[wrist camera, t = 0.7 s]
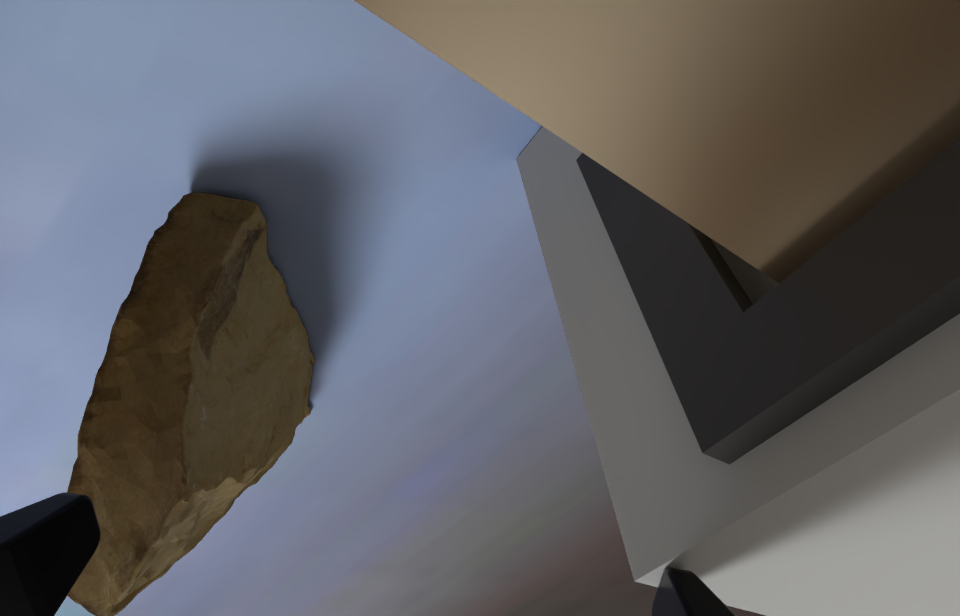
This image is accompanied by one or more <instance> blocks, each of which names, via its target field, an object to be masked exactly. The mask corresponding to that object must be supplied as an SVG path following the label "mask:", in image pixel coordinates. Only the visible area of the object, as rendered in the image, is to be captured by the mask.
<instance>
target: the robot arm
mask: <svg viewBox="0 0 960 616" xmlns="http://www.w3.org/2000/svg"><path fill="white" fill-rule="evenodd" d="M100 535H101V532H100V527H99V524H98V520H97V517H96V513H95V510H94V506H93V502H92V500H91V499H90V498H89V497H88V496H86V495H82V494H73V493H60V494H57V495H54V496H52V497H49V498H47V499H44V500H42V501H39V502H36V503H34V504H31V505H29V506H26V507H24V508H21V509H19V510H16V511H14V512H11V513H8V514H6V515H3V516H1V517H0V616H54V615H55V613H56V612H57V610H58V609H59V607H60V606H61V604H62V603H63V601H64V599H65V598H66V596H67V595H68V593H69V592H70V590H71V589H72V587H73V585H74V584H75V582H76V581H77V579H78V578H79V576H80V575H81V573H82V572H83V570H84V568H85V567H86V565H87V564H88V562H89V561H90V559H91V558H92V556H93V554H94V553H95V551H96V549H97V547H98V545H99V542H100ZM652 616H736V615H735V614H734V613H733V612H732V611H731V610H730V609H729V608H728V607H727V606H726V605H725V604H724V603H723V602H722V601H721V600H720V599H719V598H718V597H717V596H716V595H715V594H714V593H713V592H712V591H711V590H710V589H709V587H708V586H707V585H706V584H705V583H704V582H703V581H702V580H701V579H700V578H699V577H698V576H697V575H696V574H694V573H693V572H692V571H689V570H682V569H675V568H667V569H665V570H664V572H663V574H662V577H661V580H660V583H659V586H658V589H657V592H656V595H655V598H654V602H653V607H652Z"/></svg>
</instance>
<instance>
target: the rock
mask: <svg viewBox="0 0 960 616" xmlns="http://www.w3.org/2000/svg"><path fill="white" fill-rule="evenodd" d="M266 234H267V223H266V219H265V218H264V216H263V214H262V212H261V210H260V208H259V205H258V204H257V203H255V202H251V201H248V200H239V199H234V198H227V197H223V196H219V195H214V194H210V193H195V192H192V193H189V194H187V195H184V196H183V197H182V199H181V200H180V202H179V203H177V204H176V205H175V206H174V207H173V208H172V209H171V210H170V211H169V213H168V218H167V220H166V222H165V223H164V224H163V225H162V226H161V227H160V228H158V229H157V230H156V231H155V232H154V235H153V237H152V238H151V239H150V241H149V243H148V245H147V248H146V251H145V254H144V257H143V259H142V262H141V265H140V268H139V270H138V272H137V274H136V276H135V278H134V282H133V285H132V288H131V291H130V293H129V295H128V296H127V298H126V299H125V301H124V302H123V303H122V304H121V307H120V309H119V312H118V314H117V317H116V320H115V322H114V324H113V327H112V330H111V334H110V339H109V343H108V346H107V352H106V355H105V357H104V360H103V363H102V365H101V367H100V368H99V369H98V372H97V375H96V378H95V383H94V387H93V391H92V395H91V397H90V399H89V401H88V403H87V406H86V409H85V413H84V416H83V420H82V423H81V426H80V430H79V433H78V457H77V459H76V461H75V464H74V466H73V471H72V476H71V480H70V483H69V487H68V492H67V493H73V494H82V495H86V496H88V497H89V498H90V499H91V500H92V502H93V506H94V510H95V513H96V517H97V520H98V524H99V527H100V532H101V535H100V542H99V545H98V547H97V549H96V551H95V553H94V554H93V556H92V558H91V559H90V561H89V562H88V564H87V565H86V567H85V568H84V570H83V572H82V573H81V575H80V576H79V578H78V579H77V581H76V582H75V584H74V585H73V587H72V589H71V590H70V592H69V593H68V595H67V596H68V597H70V598H71V599H72V600H73V601H74V602H76V603H78V604H80V605H82V606H83V607H84V608H85V609H86V610H87V611H88V612H90V613H91V614H93V615H95V616H114V615H116V614H118V613H119V612H120V611H121V610H123V609H124V608H125V607H126V606H127V605H128V604H129V603H130V602H131V601H132V600H133V599H134V597H135V596H136V595H137V594H138V593H140V592H141V591H142V590H143V589H145V588H146V587H147V586H148V585H150V584H151V583H152V582H153V581H155V580H157V579H159V578H160V577H162V576H163V575H164V574H165V573H166V572H167V571H168V570H169V569H170V568H171V566H172V565H173V564H174V563H175V562H176V561H178V560H179V559H180V558H182V557H183V556H184V555H186V554H187V553H188V552H190V551H191V550H192V549H193V548H194V547H195V546H196V545H197V544H198V543H199V542H200V541H201V540H202V539H203V537H204V536H205V535H206V534H207V533H208V532H209V531H210V529H211V528H212V527H213V525H214V524H215V523H217V522H218V521H219V520H220V519H221V518H222V517H223V516H224V515H225V514H226V513H227V512H228V511H229V509H230V508H231V506H232V505H233V503H234V501H235V499H236V498H238V497H239V496H240V495H241V494H242V492H243V491H244V490H245V489H247V488H248V487H249V486H251V485H253V484H256V483H257V482H258V481H259V480H260V478H261V477H262V476H263V475H264V474H265V473H266V472H267V471H268V470H269V469H270V468H272V467H273V465H274V464H275V463H276V461H277V460H278V458H279V457H280V456H281V455H282V454H283V453H284V451H285V450H286V449H287V448H288V446H289V445H290V444H291V443H292V441H293V438H294V435H295V430H296V427H297V426H298V425H299V424H301V423H302V421H303V419H304V418H305V417H307V416H308V415H310V413H311V410H310V408H309V407H308V405H307V400H308V395H309V383H310V381H311V378H312V365H313V364H315V358H314V356H313V355H312V352H311V351H310V347H309V343H308V338H307V331H306V328H305V327H304V326H303V325H302V323H301V320H300V316H299V314H298V312H297V310H296V309H295V308H294V307H293V306H292V305H291V303H290V299H289V297H288V295H287V294H286V289H287V286H286V284H285V282H284V281H283V279H282V276H281V274H280V273H279V271H278V270H277V269H276V268H275V267H274V266H273V264H272V262H271V261H270V259H269V257H268V255H267V235H266Z"/></svg>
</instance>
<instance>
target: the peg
mask: <svg viewBox="0 0 960 616" xmlns="http://www.w3.org/2000/svg"><path fill="white" fill-rule="evenodd" d="M354 1H356V2H357V3H359V4H360V5H362V6H363V7H365V8H366V9H368V10H369V11H371V12H372V13H374V14H375V15H377V16H378V17H380V18H381V19H383V20H384V21H386V22H387V23H389V24H390V25H392V26H393V27H395V28H396V29H398V30H399V31H401V32H402V33H404V34H405V35H407V36H408V37H410V38H411V39H413V40H414V41H416V42H417V43H419V44H420V45H422V46H423V47H425V48H426V49H428V50H429V51H431V52H432V53H434V54H435V55H437V56H438V57H440V58H441V59H443V60H444V61H446V62H447V63H449V64H450V65H452V66H453V67H455V68H456V69H458V70H459V71H461V72H462V73H464V74H465V75H467V76H468V77H470V78H471V79H473V80H474V81H476V82H477V83H479V84H480V85H482V86H483V87H485V88H486V89H488V90H489V91H491V92H492V93H494V94H495V95H497V96H498V97H500V98H501V99H503V100H504V101H506V102H507V103H509V104H510V105H512V106H513V107H515V108H516V109H518V110H519V111H521V112H522V113H524V114H525V115H527V116H528V117H530V118H531V119H533V120H534V121H536V122H537V123H539V124H540V125H542V126H543V127H545V128H546V129H548V130H549V131H551V132H552V133H554V134H555V135H557V136H558V137H560V138H561V139H563V140H564V141H566V142H567V143H569V144H570V145H572V146H573V147H575V148H576V149H578V150H579V151H581V152H582V153H584V154H585V155H587V156H588V157H590V158H591V159H593V160H594V161H596V162H597V163H599V164H600V165H602V166H603V167H605V168H606V169H608V170H609V171H611V172H612V173H614V174H615V175H617V176H618V177H620V178H621V179H623V180H624V181H626V182H627V183H629V184H630V185H632V186H633V187H635V188H636V189H638V190H639V191H641V192H642V193H644V194H645V195H647V196H648V197H650V198H651V199H653V200H654V201H656V202H657V203H659V204H660V205H662V206H663V207H665V208H666V209H668V210H669V211H671V212H672V213H674V214H675V215H677V216H678V217H680V218H681V219H683V220H684V221H686V222H687V223H689V224H690V225H692V226H693V227H695V228H696V229H698V230H699V231H701V232H702V233H704V234H705V235H707V236H708V237H710V238H711V239H713V240H714V241H716V242H717V243H719V244H720V245H722V246H723V247H725V248H726V249H728V250H729V251H731V252H732V253H734V254H735V255H737V256H738V257H740V258H741V259H743V260H744V261H746V262H747V263H749V264H750V265H752V266H753V267H755V268H756V269H758V270H759V271H761V272H762V273H764V274H765V275H767V276H768V277H770V278H771V279H773V280H774V281H776V282H777V283H781V282H782V281H783V280H784V279H786V278H787V277H788V276H789V275H791V274H792V273H793V272H794V271H795V270H797V269H798V268H799V267H800V266H802V265H803V264H804V263H805V262H807V261H808V260H809V259H810V258H812V257H813V256H814V255H815V254H817V253H818V252H819V251H820V250H822V249H823V248H824V247H825V246H826V245H828V244H829V243H830V242H831V241H833V240H834V239H835V238H836V237H838V236H839V235H840V234H841V233H843V232H844V231H845V230H846V229H848V228H849V227H850V226H851V225H853V224H854V223H855V222H856V221H857V220H859V219H860V218H861V217H862V216H864V215H865V214H866V213H867V212H869V211H870V210H871V209H872V208H874V207H875V206H876V205H877V204H879V203H880V202H881V201H882V200H884V199H885V198H886V197H887V196H888V195H890V194H891V193H892V192H893V191H895V190H896V189H897V188H898V187H900V186H901V185H902V184H903V183H905V182H906V181H907V180H908V179H910V178H911V177H912V176H913V175H915V174H916V173H917V172H918V171H919V170H921V169H922V168H923V167H924V166H926V165H927V164H928V163H929V162H931V161H932V160H933V159H934V158H936V157H937V156H938V155H939V154H941V153H942V152H943V151H944V150H946V149H947V148H948V147H949V146H950V145H952V144H953V143H954V142H955V141H957V140H958V139H959V138H960V0H354Z"/></svg>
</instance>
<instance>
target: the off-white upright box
mask: <svg viewBox="0 0 960 616" xmlns="http://www.w3.org/2000/svg"><path fill="white" fill-rule="evenodd" d="M516 160H517V163H518V167H519V171H520V174H521V178H522V181H523V185H524V188H525V192H526V196H527V199H528V203H529V206H530V210H531V213H532V217H533V221H534V224H535V228H536V231H537V235H538V238H539V242H540V246H541V249H542V253H543V256H544V260H545V263H546V267H547V271H548V274H549V278H550V281H551V285H552V288H553V292H554V296H555V299H556V303H557V306H558V310H559V313H560V317H561V321H562V324H563V328H564V331H565V335H566V338H567V342H568V346H569V349H570V353H571V356H572V360H573V364H574V367H575V371H576V374H577V378H578V381H579V385H580V389H581V392H582V396H583V399H584V403H585V406H586V410H587V414H588V417H589V421H590V424H591V428H592V431H593V435H594V439H595V442H596V446H597V449H598V453H599V456H600V460H601V464H602V467H603V471H604V474H605V478H606V481H607V485H608V489H609V492H610V496H611V499H612V503H613V506H614V510H615V514H616V517H617V521H618V524H619V528H620V531H621V535H622V539H623V542H624V546H625V549H626V553H627V557H628V560H629V564H630V567H631V571H632V574H633V578H634V581H635V582H639V583H643V584H647V585H651V586H654V587H658V586H659V583H660V580H661V577H662V574H663V572H664V570H665V569H667V568H675V569H682V570H689V571H692V572H693V573H694V574H696V575H697V576H698V577H699V578H700V579H701V580H702V581H703V582H704V583H705V584H706V585H707V586H708V587H709V589H710V590H711V591H712V592H713V593H714V594H715V595H716V596H717V597H718V598H719V599H720V600H721V601H722V602H723V603H724V604H725V605H728V606H732V607H735V608H739V609H743V610H747V611H751V612H755V613H759V614H762V615H766V616H960V138H959V139H958V140H957V141H955V142H954V143H953V144H952V145H950V146H949V147H948V148H947V149H946V150H944V151H943V152H942V153H941V154H939V155H938V156H937V157H936V158H934V159H933V160H932V161H931V162H929V163H928V164H927V165H926V166H924V167H923V168H922V169H921V170H919V171H918V172H917V173H916V174H915V175H913V176H912V177H911V178H910V179H908V180H907V181H906V182H905V183H903V184H902V185H901V186H900V187H898V188H897V189H896V190H895V191H893V192H892V193H891V194H890V195H888V196H887V197H886V198H885V199H884V200H882V201H881V202H880V203H879V204H877V205H876V206H875V207H874V208H872V209H871V210H870V211H869V212H867V213H866V214H865V215H864V216H862V217H861V218H860V219H859V220H857V221H856V222H855V223H854V224H853V225H851V226H850V227H849V228H848V229H846V230H845V231H844V232H843V233H841V234H840V235H839V236H838V237H836V238H835V239H834V240H833V241H831V242H830V243H829V244H828V245H826V246H825V247H824V248H823V249H822V250H820V251H819V252H818V253H817V254H815V255H814V256H813V257H812V258H810V259H809V260H808V261H807V262H805V263H804V264H803V265H802V266H800V267H799V268H798V269H797V270H795V271H794V272H793V273H792V274H791V275H789V276H788V277H787V278H786V279H784V280H783V281H782V282H781V283H777V282H776V281H774V280H773V279H771V278H770V277H768V276H767V275H765V274H764V273H762V272H761V271H759V270H758V269H756V268H755V267H753V266H752V265H750V264H749V263H747V262H746V261H744V260H743V259H741V258H740V257H738V256H737V255H735V254H734V253H732V252H731V251H729V250H728V249H726V248H725V247H723V246H722V245H720V244H719V243H717V242H716V241H714V240H713V239H711V238H710V237H708V236H707V235H705V234H704V233H702V232H701V231H699V230H698V229H696V228H695V227H693V226H692V225H690V224H689V223H687V222H686V221H684V220H683V219H681V218H680V217H678V216H677V215H675V214H674V213H672V212H671V211H669V210H668V209H666V208H665V207H663V206H662V205H660V204H659V203H657V202H656V201H654V200H653V199H651V198H650V197H648V196H647V195H645V194H644V193H642V192H641V191H639V190H638V189H636V188H635V187H633V186H632V185H630V184H629V183H627V182H626V181H624V180H623V179H621V178H620V177H618V176H617V175H615V174H614V173H612V172H611V171H609V170H608V169H606V168H605V167H603V166H602V165H600V164H599V163H597V162H596V161H594V160H593V159H591V158H590V157H588V156H587V155H585V154H584V153H582V152H581V151H579V150H578V149H576V148H575V147H573V146H572V145H570V144H569V143H567V142H566V141H564V140H563V139H561V138H560V137H558V136H557V135H555V134H554V133H552V132H551V131H549V130H548V129H546V128H545V127H543V126H542V127H541V129H540V130H539V131H538V132H537V134H536V135H535V136H534V138H533V139H532V140H531V141H530V143H529V144H528V145H527V146H526V148H525V149H524V150H523V152H522V153H521V154H520V155H519V157H518V158H517V159H516Z"/></svg>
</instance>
